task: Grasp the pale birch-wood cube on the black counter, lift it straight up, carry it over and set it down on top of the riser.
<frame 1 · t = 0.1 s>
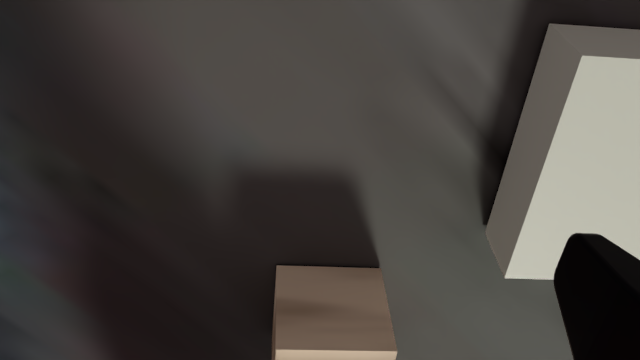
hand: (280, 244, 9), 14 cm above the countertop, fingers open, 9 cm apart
riser: (627, 145, 26), on the countertop
birch cube: (324, 304, 30), on the countertop
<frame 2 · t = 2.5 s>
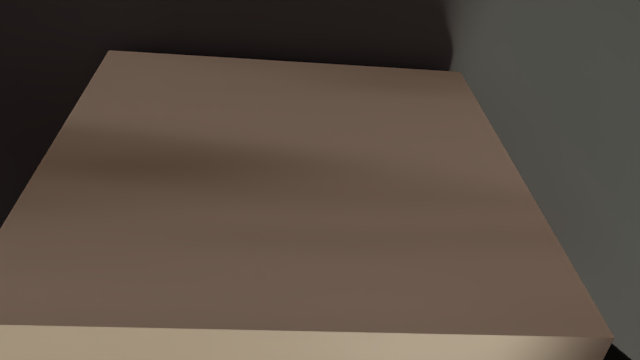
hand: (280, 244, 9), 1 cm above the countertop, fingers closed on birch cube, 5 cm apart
birch cube: (280, 202, 10), on the countertop, touching gripper
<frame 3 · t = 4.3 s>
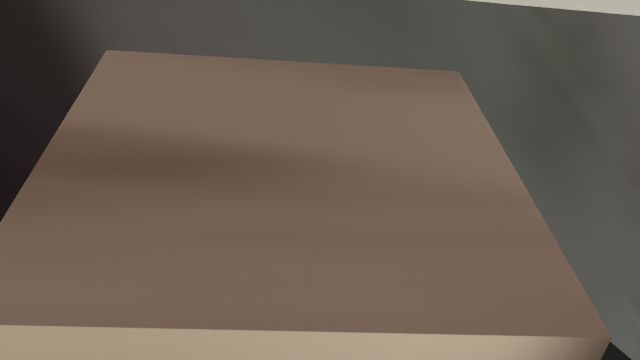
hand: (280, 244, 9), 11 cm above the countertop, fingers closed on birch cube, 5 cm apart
birch cube: (278, 202, 10), point 10 cm above the countertop, touching gripper
when the fingers open (5 cm above the countertop, at t = 6.4 s): birch cube stays where it is, resting on riser.
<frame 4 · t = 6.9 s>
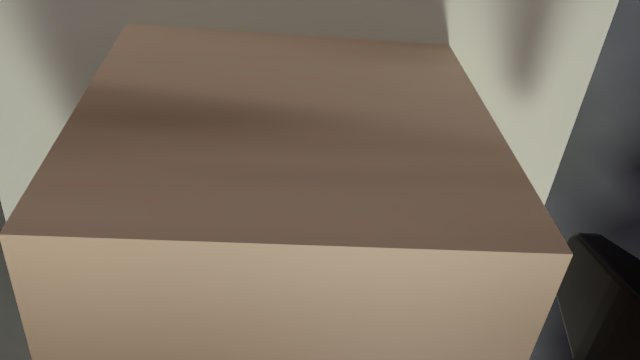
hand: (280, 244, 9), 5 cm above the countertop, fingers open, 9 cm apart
riser: (282, 95, 13), on the countertop
birch cube: (282, 169, 11), point 3 cm above the countertop, touching riser
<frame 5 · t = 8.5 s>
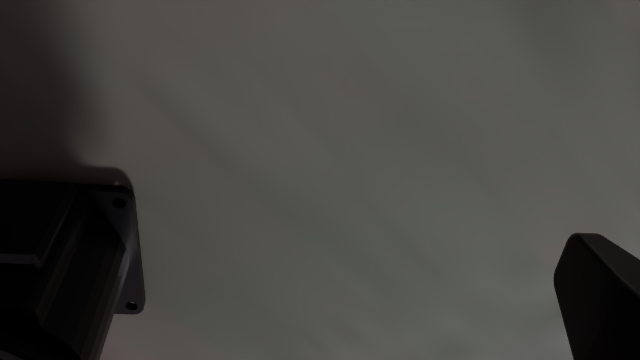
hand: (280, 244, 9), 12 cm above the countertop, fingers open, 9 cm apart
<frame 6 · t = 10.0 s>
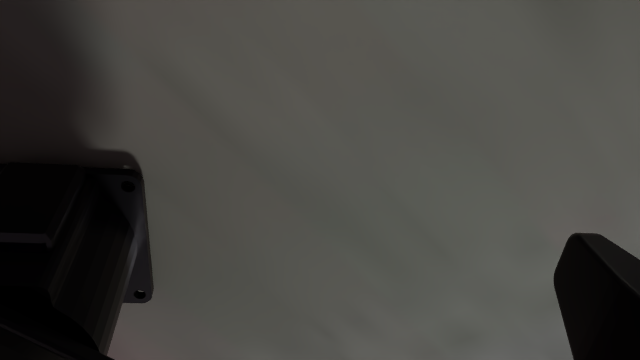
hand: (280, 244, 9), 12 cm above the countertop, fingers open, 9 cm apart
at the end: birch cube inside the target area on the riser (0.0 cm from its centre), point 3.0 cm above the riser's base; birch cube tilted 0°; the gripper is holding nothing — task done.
